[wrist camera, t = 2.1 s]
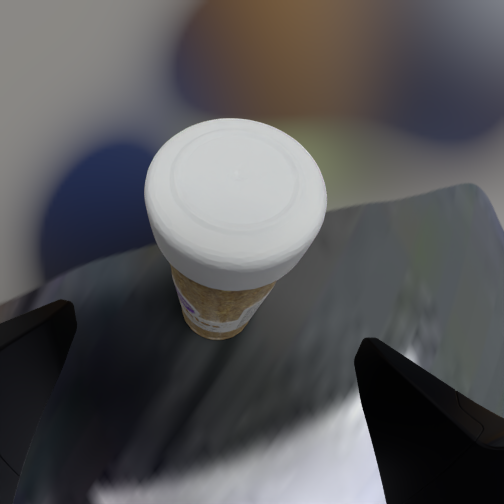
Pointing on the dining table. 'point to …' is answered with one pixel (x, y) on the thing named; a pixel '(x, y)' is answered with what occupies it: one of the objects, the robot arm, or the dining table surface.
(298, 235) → the sprinkles bottle
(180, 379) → the dining table surface
